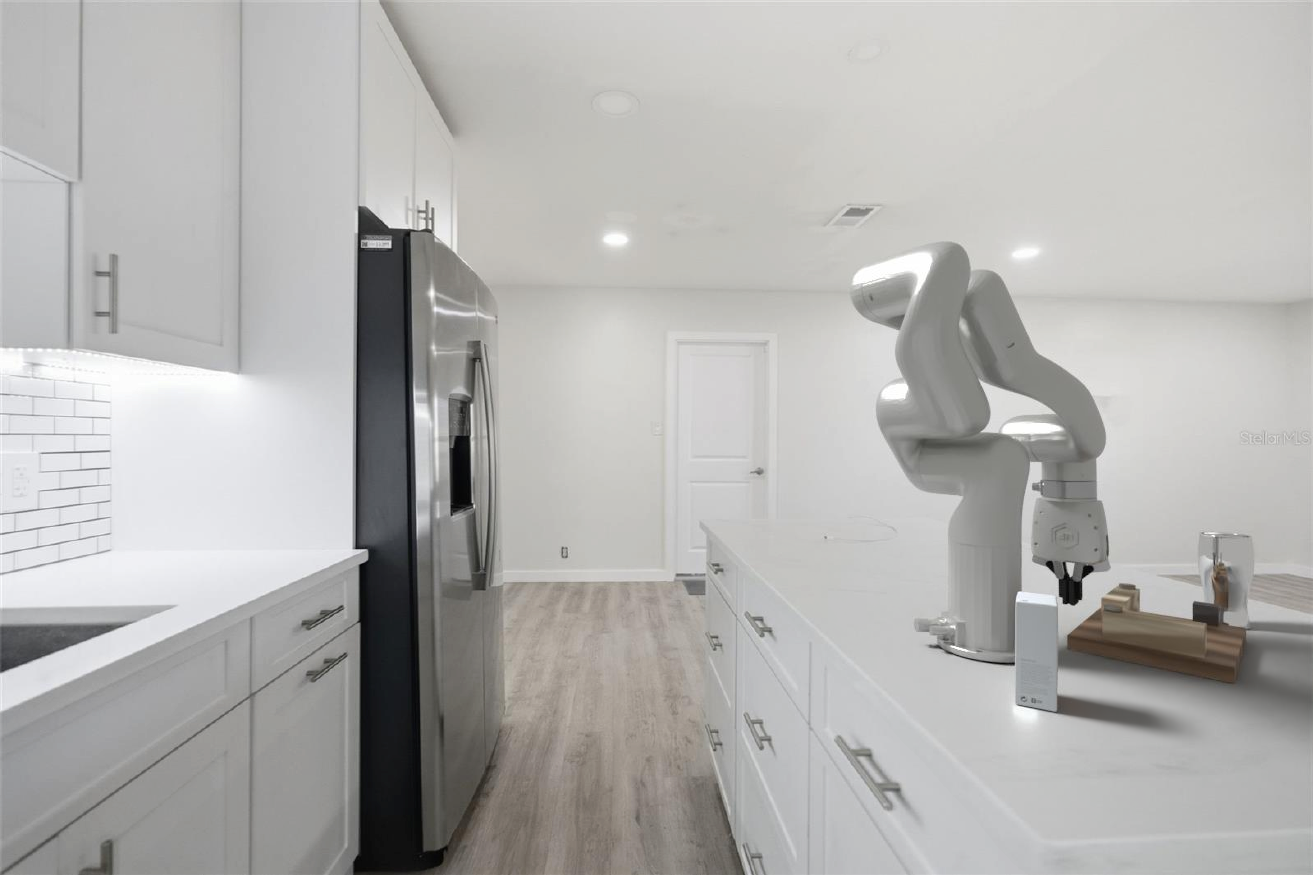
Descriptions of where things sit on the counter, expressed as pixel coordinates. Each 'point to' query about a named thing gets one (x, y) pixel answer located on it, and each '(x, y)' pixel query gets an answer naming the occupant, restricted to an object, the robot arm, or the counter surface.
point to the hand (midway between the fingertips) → (1070, 603)
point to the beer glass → (1227, 574)
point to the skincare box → (1036, 650)
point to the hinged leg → (1123, 598)
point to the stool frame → (1165, 640)
